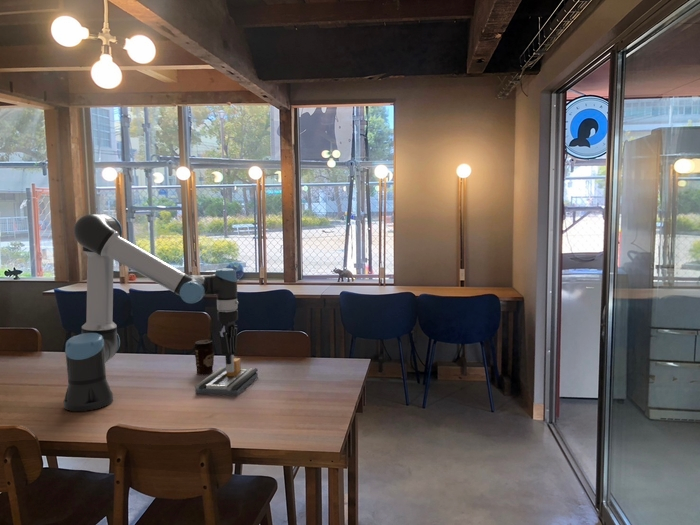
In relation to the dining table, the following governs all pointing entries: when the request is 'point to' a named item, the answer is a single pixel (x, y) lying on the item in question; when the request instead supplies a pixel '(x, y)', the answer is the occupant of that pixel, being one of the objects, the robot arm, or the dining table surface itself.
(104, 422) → the dining table surface
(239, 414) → the dining table surface
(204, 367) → the coffee cup
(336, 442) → the dining table surface
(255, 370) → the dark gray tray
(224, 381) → the panel
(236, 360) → the tan rectangular block
